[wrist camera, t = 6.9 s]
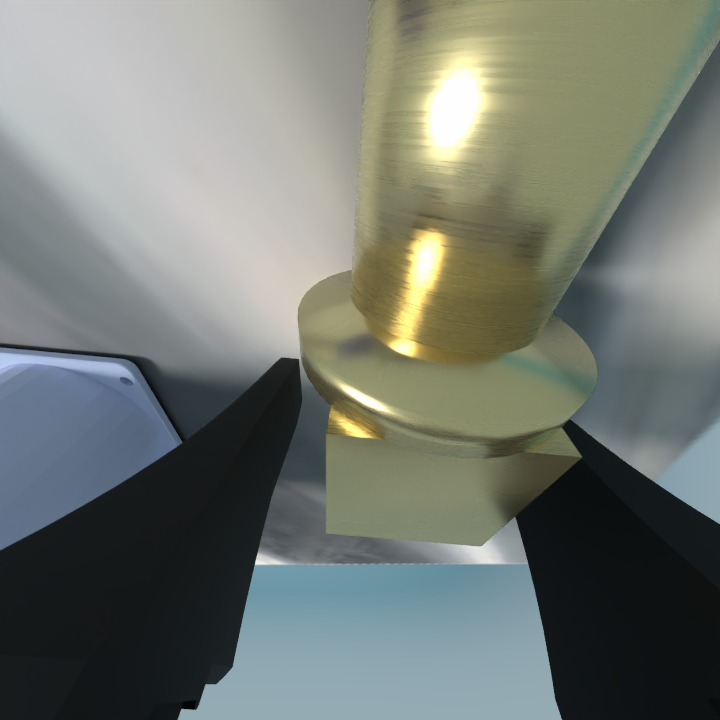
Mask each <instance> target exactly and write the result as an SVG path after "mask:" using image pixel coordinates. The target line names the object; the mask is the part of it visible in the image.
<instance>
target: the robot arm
mask: <svg viewBox="0 0 720 720" xmlns="http://www.w3.org/2000/svg"><path fill="white" fill-rule="evenodd" d="M301 403H302V392H301V380H300V368H299V359H291V358H280V359H279V360H278V361H277V362H276V363H275V364H274V365H273V366H272V367H271V368H270V369H269V370H268V371H267V372H266V373H265V374H264V375H263V376H261V377H260V378H259V379H258V380H257V381H256V382H255V383H254V384H253V385H252V386H251V387H250V388H249V389H248V390H247V391H245V392H244V393H243V394H242V395H241V396H240V397H239V398H238V399H237V400H236V401H234V402H233V403H232V404H231V405H230V406H228V407H227V408H226V409H225V410H224V411H222V412H221V413H220V414H219V415H218V416H216V417H215V418H214V419H213V420H212V421H210V422H209V423H208V424H207V425H205V426H204V427H203V428H201V429H200V430H199V431H198V432H196V433H195V434H194V435H192V436H191V437H189V438H188V439H187V440H185V441H184V442H182V441H181V439H180V437H179V436H178V434H177V432H176V431H175V429H174V427H173V426H172V424H171V422H170V421H169V419H168V417H167V416H166V414H165V412H164V411H163V409H162V407H161V406H160V404H159V402H158V401H157V399H156V397H155V396H154V394H153V392H152V390H151V389H150V387H149V385H148V384H147V382H146V380H145V379H144V377H143V375H142V374H141V372H140V370H139V369H138V367H137V366H136V365H135V364H134V363H132V362H130V361H128V360H125V359H119V358H108V357H97V356H86V355H76V354H65V353H54V352H43V351H33V350H22V349H11V348H0V720H177V719H178V717H179V714H180V711H181V709H192V710H196V709H197V707H198V705H199V702H200V699H201V696H202V693H203V690H204V686H205V684H217V683H218V682H219V681H220V680H221V679H222V678H223V677H224V676H225V675H226V674H227V673H228V672H229V671H230V669H231V668H232V667H233V662H234V657H235V652H236V647H237V642H238V638H239V633H240V628H241V623H242V618H243V613H244V609H245V605H246V600H247V595H248V591H249V587H250V583H251V578H252V573H253V569H254V565H255V561H256V557H257V553H258V548H259V544H260V540H261V536H262V532H263V528H264V524H265V520H266V516H267V512H268V508H269V505H270V501H271V497H272V494H273V491H274V488H275V485H276V482H277V479H278V476H279V473H280V470H281V468H282V465H283V462H284V459H285V456H286V454H287V451H288V448H289V445H290V442H291V439H292V437H293V434H294V431H295V428H296V425H297V421H298V416H299V412H300V407H301ZM562 429H563V430H564V431H565V433H566V434H567V436H568V437H569V439H570V440H571V442H572V443H573V444H574V446H575V447H576V449H577V450H578V452H579V453H580V455H581V456H582V458H581V459H580V460H579V461H577V462H576V463H575V464H574V465H573V466H572V467H571V468H569V469H568V470H567V471H566V472H565V473H564V474H563V475H561V476H560V477H559V478H558V479H557V480H556V481H555V482H554V483H552V484H551V485H550V486H549V487H548V488H547V489H546V490H544V491H543V492H542V493H541V494H540V495H539V496H538V497H537V498H535V499H534V500H533V501H532V502H531V503H530V504H529V505H527V506H526V507H525V508H524V509H523V510H522V511H521V512H519V513H518V514H517V515H516V516H515V517H516V520H517V524H518V527H519V531H520V534H521V538H522V541H523V545H524V549H525V552H526V556H527V560H528V564H529V568H530V572H531V576H532V580H533V584H534V588H535V592H536V597H537V602H538V606H539V611H540V616H541V620H542V625H543V629H544V635H545V641H546V646H547V652H548V657H549V663H550V669H551V674H552V681H553V687H554V693H555V699H556V703H557V706H558V708H559V712H560V715H561V718H562V720H720V524H718V523H717V522H715V521H714V520H712V519H710V518H709V517H707V516H705V515H704V514H702V513H701V512H699V511H697V510H696V509H694V508H693V507H691V506H689V505H688V504H686V503H685V502H683V501H682V500H680V499H678V498H677V497H675V496H674V495H672V494H671V493H670V492H668V491H666V490H665V489H664V488H662V487H661V486H659V485H658V484H656V483H655V482H653V481H652V480H650V479H649V478H647V477H646V476H644V475H643V474H641V473H640V472H639V471H637V470H636V469H634V468H633V467H632V466H630V465H629V464H627V463H626V462H625V461H623V460H622V459H621V458H619V457H618V456H617V455H615V454H614V453H613V452H611V451H610V450H609V449H607V448H606V447H605V446H603V445H602V444H601V443H599V442H598V441H597V440H595V439H594V438H593V437H592V436H590V435H589V434H588V433H586V432H585V431H584V430H583V429H581V428H580V427H579V426H578V425H576V424H575V423H574V422H573V421H571V420H570V419H569V420H568V421H567V422H566V423H565V424H564V425H563V426H562Z"/></svg>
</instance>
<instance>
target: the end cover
mask: <svg viewBox="0 0 720 720" xmlns="http://www.w3.org/2000/svg"><path fill="white" fill-rule="evenodd" d="M719 41H720V0H369V11H368V27H367V43H366V59H365V74H364V90H363V106H362V122H361V137H360V153H359V169H358V185H357V200H356V216H355V232H354V248H353V264H352V270H350V271H346V272H342V273H339V274H336V275H333V276H330V277H328V278H326V279H324V280H322V281H320V282H319V283H317V284H316V285H314V286H313V287H312V288H311V289H310V290H309V291H308V292H307V293H306V294H305V295H304V297H303V298H302V300H301V302H300V305H299V308H298V328H299V341H300V353H301V359H302V364H303V367H304V369H305V372H306V374H307V376H308V378H309V380H310V381H311V383H312V384H313V386H314V387H315V389H316V390H317V391H318V392H319V394H320V395H321V396H322V397H323V398H324V399H325V400H326V402H328V403H329V404H330V405H331V409H330V414H329V420H328V426H327V431H326V533H328V534H340V535H352V536H363V537H375V538H387V539H399V540H411V541H423V542H434V543H446V544H458V545H470V546H482V545H483V544H484V543H485V542H487V541H488V540H489V539H490V538H491V537H492V536H493V535H494V534H496V533H497V532H498V531H499V530H500V529H501V528H502V527H504V526H505V525H506V524H507V523H508V522H509V521H510V520H512V519H513V518H514V517H515V516H516V515H517V514H518V513H519V512H521V511H522V510H523V509H524V508H525V507H526V506H527V505H529V504H530V503H531V502H532V501H533V500H534V499H535V498H537V497H538V496H539V495H540V494H541V493H542V492H543V491H544V490H546V489H547V488H548V487H549V486H550V485H551V484H552V483H554V482H555V481H556V480H557V479H558V478H559V477H560V476H561V475H563V474H564V473H565V472H566V471H567V470H568V469H569V468H571V467H572V466H573V465H574V464H575V463H576V462H577V461H579V460H580V459H581V458H582V456H581V455H580V453H579V452H578V450H577V449H576V447H575V446H574V444H573V443H572V442H571V440H570V439H569V437H568V436H567V434H566V433H565V431H564V430H563V429H562V426H563V425H564V424H565V423H566V422H567V421H568V420H569V419H570V418H571V417H572V416H573V414H574V413H575V412H576V411H577V410H578V409H579V408H580V407H581V406H582V405H583V404H584V403H585V401H586V400H587V399H588V398H589V396H590V395H591V394H592V392H593V391H594V390H595V387H596V383H597V380H598V367H597V364H596V361H595V358H594V356H593V354H592V352H591V350H590V349H589V347H588V345H587V344H586V343H585V342H584V340H583V339H582V338H581V337H580V336H579V335H578V334H577V333H576V332H575V331H574V330H573V329H572V328H571V327H570V326H569V325H568V324H566V323H565V322H564V321H563V320H561V319H560V318H559V317H557V316H556V315H554V314H553V311H554V310H555V308H556V307H557V305H558V303H559V302H560V300H561V298H562V297H563V295H564V294H565V292H566V290H567V289H568V287H569V285H570V284H571V282H572V280H573V279H574V277H575V276H576V274H577V272H578V271H579V269H580V267H581V266H582V264H583V263H584V261H585V259H586V258H587V256H588V254H589V253H590V251H591V249H592V248H593V246H594V245H595V243H596V241H597V240H598V238H599V236H600V235H601V233H602V232H603V230H604V228H605V227H606V225H607V223H608V222H609V220H610V218H611V217H612V215H613V214H614V212H615V210H616V209H617V207H618V205H619V204H620V202H621V201H622V199H623V197H624V196H625V194H626V192H627V191H628V189H629V187H630V186H631V184H632V183H633V181H634V179H635V178H636V176H637V174H638V173H639V171H640V170H641V168H642V166H643V165H644V163H645V161H646V160H647V158H648V156H649V155H650V153H651V152H652V150H653V148H654V147H655V145H656V143H657V142H658V140H659V139H660V137H661V135H662V134H663V132H664V130H665V129H666V127H667V125H668V124H669V122H670V121H671V119H672V117H673V116H674V114H675V112H676V111H677V109H678V108H679V106H680V104H681V103H682V101H683V99H684V98H685V96H686V94H687V93H688V91H689V90H690V88H691V86H692V85H693V83H694V81H695V80H696V78H697V77H698V75H699V73H700V72H701V70H702V68H703V67H704V65H705V63H706V62H707V60H708V59H709V57H710V55H711V54H712V52H713V50H714V49H715V47H716V46H717V44H718V42H719Z"/></svg>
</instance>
